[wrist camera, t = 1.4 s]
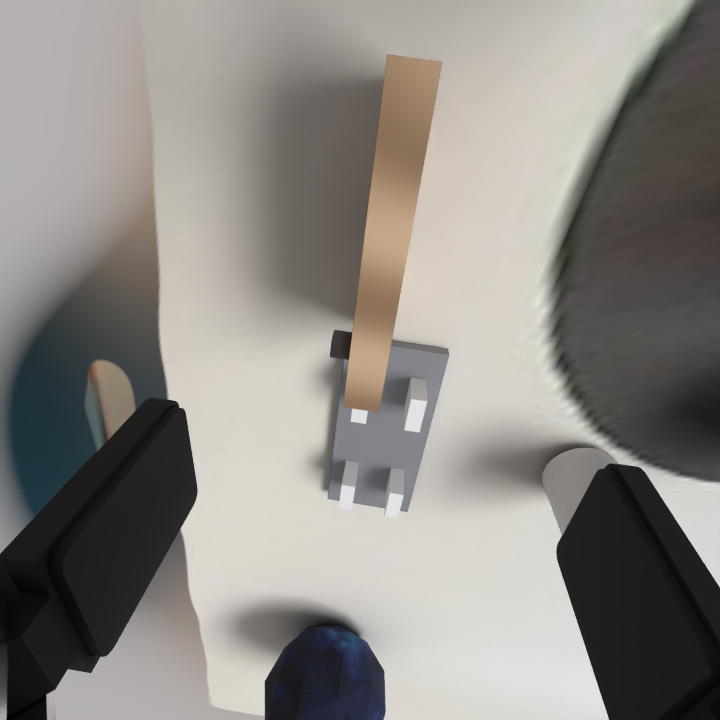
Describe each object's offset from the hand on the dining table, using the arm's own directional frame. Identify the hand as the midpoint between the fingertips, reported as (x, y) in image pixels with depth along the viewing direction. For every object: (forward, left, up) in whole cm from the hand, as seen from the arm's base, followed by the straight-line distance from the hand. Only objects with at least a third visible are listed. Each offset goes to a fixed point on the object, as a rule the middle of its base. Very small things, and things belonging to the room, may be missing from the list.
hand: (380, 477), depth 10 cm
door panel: (-1, -1, -23) cm, 23 cm away
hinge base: (+17, +1, -22) cm, 28 cm away
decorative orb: (+53, 0, -23) cm, 58 cm away
